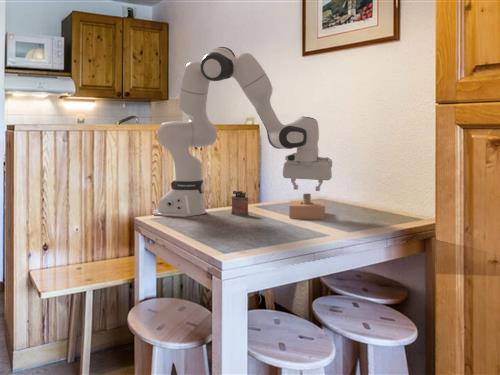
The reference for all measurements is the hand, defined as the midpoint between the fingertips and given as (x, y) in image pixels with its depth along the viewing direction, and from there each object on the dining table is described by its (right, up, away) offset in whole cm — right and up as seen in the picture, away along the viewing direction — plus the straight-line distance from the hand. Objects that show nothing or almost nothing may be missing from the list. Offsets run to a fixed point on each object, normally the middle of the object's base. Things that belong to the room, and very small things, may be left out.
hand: (306, 190), depth 185 cm
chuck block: (0, -11, +1) cm, 11 cm away
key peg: (0, -11, 0) cm, 11 cm away
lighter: (-28, -11, +3) cm, 30 cm away
